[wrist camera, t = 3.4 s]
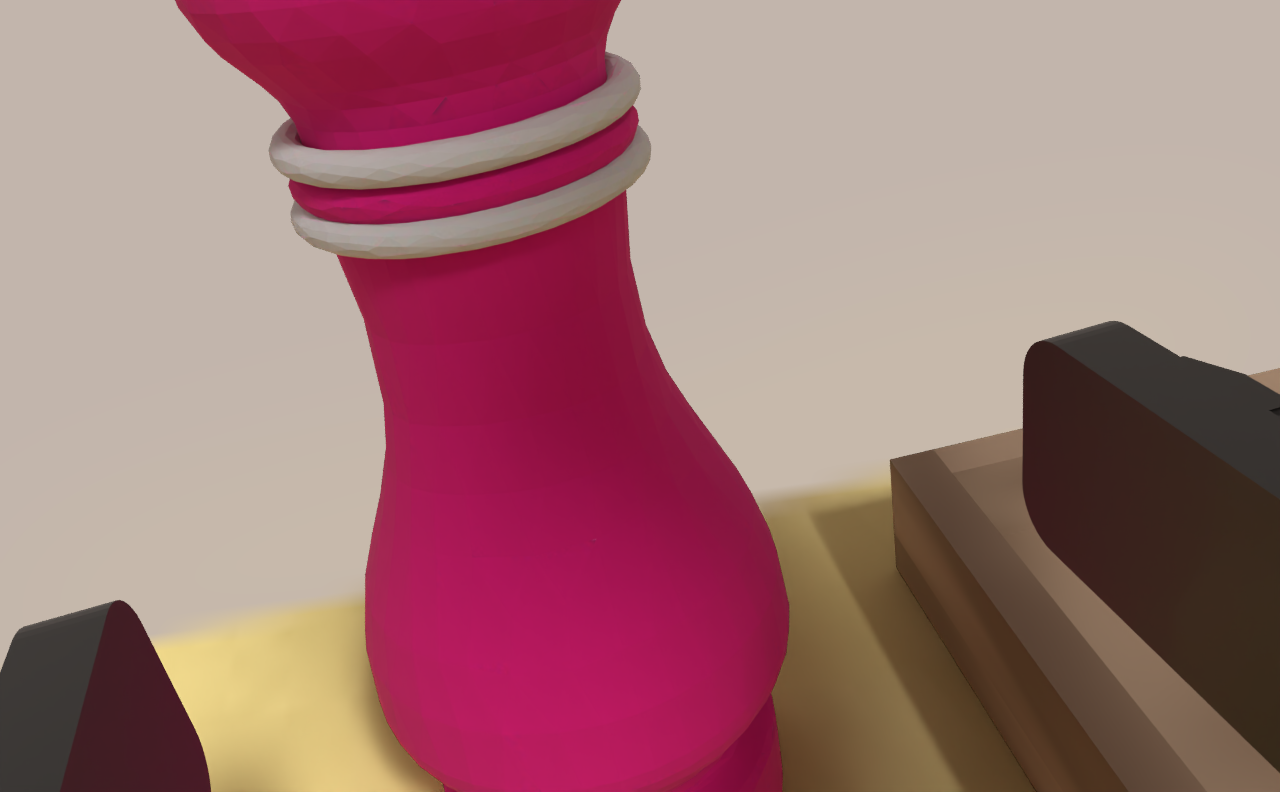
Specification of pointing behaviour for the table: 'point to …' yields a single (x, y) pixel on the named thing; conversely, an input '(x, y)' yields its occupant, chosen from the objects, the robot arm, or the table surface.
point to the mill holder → (1052, 638)
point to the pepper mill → (521, 402)
